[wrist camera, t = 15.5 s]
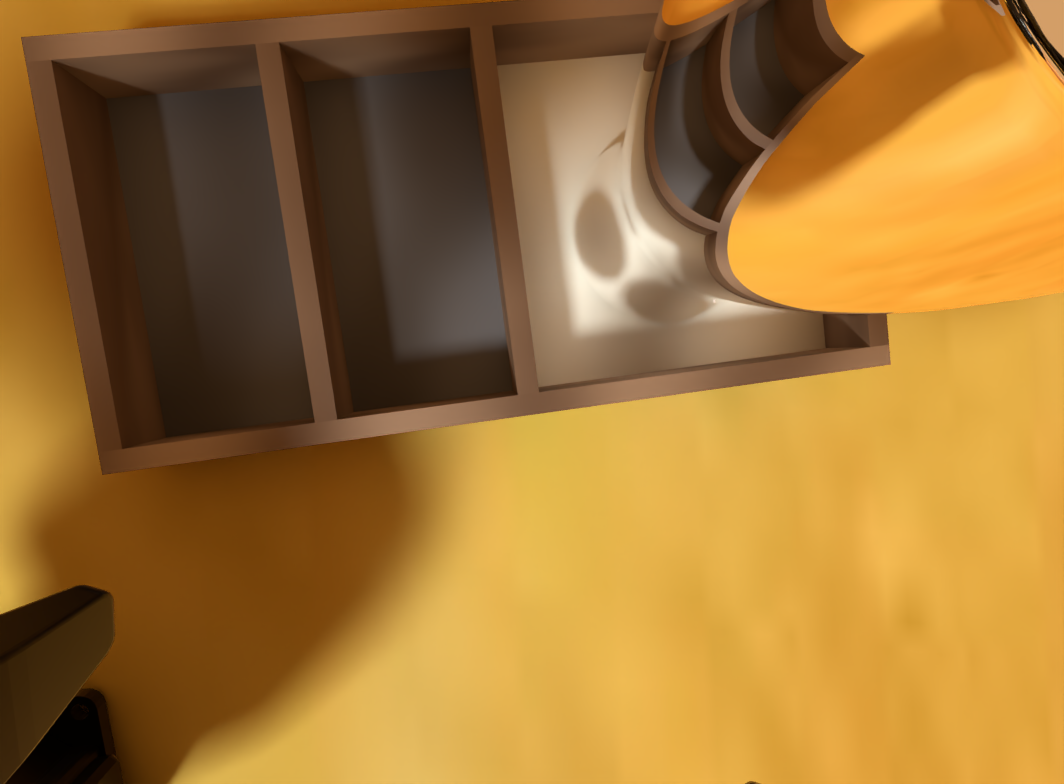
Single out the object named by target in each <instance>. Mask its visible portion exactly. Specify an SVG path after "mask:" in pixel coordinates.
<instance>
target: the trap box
mask: <svg viewBox="0 0 1064 784" xmlns="http://www.w3.org/2000/svg"><path fill="white" fill-rule="evenodd" d="M662 2H663V0H515V1H501V2H488V3H474V4H461V5H447V6H434V7H421V8H407V9H394V10H380V11H367V12H353V13H340V14H327V15H313V16H300V17H286V18H273V19H259V20H246V21H232V22H219V23H206V24H192V25H179V26H165V27H152V28H138V29H125V30H111V31H98V32H85V33H71V34H58V35H44V36H31V37H21V39H22V44H23V50H24V55H25V61H26V66H27V71H28V77H29V82H30V88H31V93H32V98H33V104H34V109H35V114H36V120H37V125H38V131H39V136H40V141H41V147H42V152H43V157H44V163H45V168H46V174H47V179H48V184H49V190H50V195H51V201H52V206H53V211H54V217H55V222H56V227H57V233H58V238H59V244H60V249H61V254H62V260H63V265H64V270H65V276H66V281H67V287H68V292H69V297H70V303H71V308H72V314H73V319H74V324H75V330H76V335H77V340H78V346H79V351H80V357H81V362H82V367H83V373H84V378H85V383H86V389H87V394H88V400H89V405H90V410H91V416H92V421H93V427H94V432H95V437H96V443H97V448H98V453H99V459H100V464H101V470H102V475H103V474H111V473H118V472H125V471H132V470H139V469H146V468H154V467H161V466H168V465H175V464H182V463H189V462H196V461H204V460H211V459H218V458H225V457H232V456H239V455H247V454H254V453H261V452H268V451H275V450H282V449H289V448H297V447H304V446H311V445H318V444H325V443H332V442H340V441H347V440H354V439H361V438H368V437H375V436H382V435H390V434H397V433H404V432H411V431H418V430H425V429H433V428H440V427H447V426H454V425H461V424H468V423H475V422H483V421H490V420H497V419H504V418H511V417H518V416H526V415H533V414H540V413H547V412H554V411H561V410H568V409H576V408H583V407H590V406H597V405H604V404H611V403H619V402H626V401H633V400H640V399H647V398H654V397H661V396H669V395H676V394H683V393H690V392H697V391H704V390H712V389H719V388H726V387H733V386H740V385H747V384H754V383H762V382H769V381H776V380H783V379H790V378H797V377H805V376H812V375H819V374H826V373H833V372H840V371H847V370H855V369H862V368H869V367H876V366H883V365H890V364H891V363H890V351H889V339H888V327H887V315H886V314H877V315H857V316H848V315H831V314H818V313H804V312H792V311H783V310H776V309H770V308H765V307H759V306H753V305H747V304H742V303H737V302H731V301H725V302H724V303H722V304H721V305H719V306H718V307H716V308H715V309H713V310H712V311H710V312H708V313H706V314H704V315H702V316H699V317H697V318H694V319H691V320H688V321H684V322H678V323H669V324H660V323H651V322H645V321H641V320H638V319H635V318H632V317H630V316H627V315H625V314H623V313H621V312H620V311H618V310H616V309H615V308H613V307H612V306H610V305H609V304H608V303H607V302H605V301H604V300H603V299H602V298H601V297H600V296H599V295H598V294H597V293H596V292H595V291H594V289H593V288H592V287H591V286H590V284H589V283H588V281H587V280H586V278H585V277H584V275H583V273H582V271H581V269H580V267H579V264H578V262H577V259H576V256H575V253H574V249H573V244H572V237H571V215H572V208H573V203H574V199H575V196H576V193H577V190H578V187H579V185H580V183H581V181H582V179H583V177H584V175H585V174H586V172H587V171H588V169H589V168H590V166H591V165H592V164H593V163H594V161H595V160H596V159H597V158H598V157H599V156H600V155H601V154H602V153H603V152H604V151H606V150H607V149H608V148H609V147H611V146H612V145H613V144H615V143H616V142H618V141H619V140H621V139H623V138H624V137H625V132H626V128H627V123H628V118H629V114H630V109H631V105H632V101H633V97H634V93H635V88H636V84H637V80H638V76H639V72H640V69H641V65H642V62H643V59H644V56H645V53H646V50H647V47H648V44H649V41H650V38H651V35H652V32H653V29H654V26H655V23H656V20H657V16H658V13H659V10H660V8H661V5H662Z"/></svg>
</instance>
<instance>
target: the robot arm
mask: <svg viewBox="0 0 1064 784" xmlns="http://www.w3.org/2000/svg"><path fill="white" fill-rule="evenodd" d="M114 636H115V624H114V599H113V596H112V595H111V593H110V592H108V591H105V590H102V589H98V588H95V587H91V586H88V585H79V586H75V587H71V588H69V589H66V590H63V591H61V592H58V593H56V594H53V595H50V596H48V597H45V598H42V599H40V600H37V601H34V602H32V603H29V604H27V605H24V606H21V607H19V608H16V609H13V610H11V611H8V612H6V613H3V614H0V784H124V783H123V778H122V773H121V768H120V762H119V760H118V759H117V758H116V753H115V748H114V743H113V737H112V732H111V727H110V722H109V716H108V711H107V706H106V701H105V699H104V696H103V695H102V694H101V693H100V692H99V691H97V690H94V689H82V690H80V689H81V687H82V686H83V685H84V683H85V682H86V681H87V679H88V678H89V677H90V675H91V674H92V673H93V672H94V670H95V669H96V668H97V666H98V665H99V664H100V662H101V661H102V660H103V659H104V657H105V656H106V654H107V653H108V651H109V650H110V648H111V646H112V643H113V640H114ZM80 704H83V705H85V706H87V708H88V710H89V712H85V711H83V710H82V709H81V707H80ZM745 784H760V783H757V782H753V781H749V782H747V783H745Z"/></svg>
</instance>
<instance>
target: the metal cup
mask: <svg viewBox="0 0 1064 784" xmlns="http://www.w3.org/2000/svg"><path fill="white" fill-rule="evenodd" d="M571 237H572V244H573V249H574V253H575V256H576V259H577V262H578V264H579V267H580V269H581V271H582V273H583V275H584V277H585V278H586V280H587V281H588V283H589V284H590V286H591V287H592V288H593V289H594V291H595V292H596V293H597V294H598V295H599V296H600V297H601V298H602V299H603V300H604V301H605V302H607V303H608V304H609V305H610V306H612V307H613V308H615V309H616V310H618V311H620V312H621V313H623V314H625V315H627V316H630V317H632V318H635V319H638V320H641V321H645V322H651V323H660V324H669V323H678V322H684V321H688V320H691V319H694V318H697V317H699V316H702V315H704V314H706V313H708V312H710V311H712V310H713V309H715V308H716V307H718V306H719V305H721V304H722V303H724V302H725V301H731V302H737V303H742V304H747V305H753V306H759V307H765V308H770V309H776V310H783V311H792V312H804V313H818V314H831V315H848V316H857V315H877V314H893V313H910V312H926V311H938V310H946V309H954V308H961V307H968V306H976V305H983V304H990V303H997V302H1005V301H1012V300H1019V299H1027V298H1033V297H1038V296H1044V295H1049V294H1055V293H1060V292H1064V0H663V2H662V5H661V8H660V10H659V13H658V16H657V20H656V23H655V26H654V29H653V32H652V35H651V38H650V41H649V44H648V47H647V50H646V53H645V56H644V59H643V62H642V65H641V69H640V72H639V76H638V80H637V84H636V88H635V93H634V97H633V101H632V105H631V109H630V114H629V118H628V123H627V128H626V132H625V137H624V138H623V139H621V140H619V141H618V142H616V143H615V144H613V145H612V146H611V147H609V148H608V149H607V150H606V151H604V152H603V153H602V154H601V155H600V156H599V157H598V158H597V159H596V160H595V161H594V163H593V164H592V165H591V166H590V168H589V169H588V171H587V172H586V174H585V175H584V177H583V179H582V181H581V183H580V185H579V187H578V190H577V193H576V196H575V199H574V203H573V208H572V215H571Z"/></svg>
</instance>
